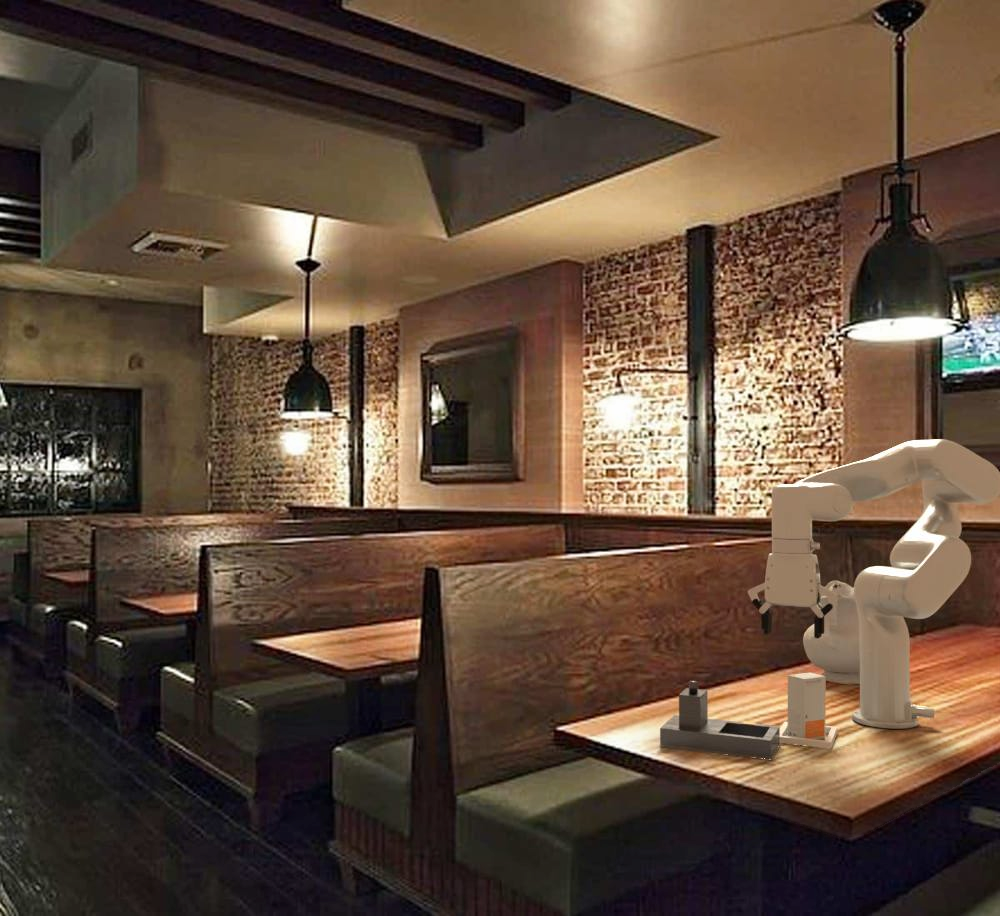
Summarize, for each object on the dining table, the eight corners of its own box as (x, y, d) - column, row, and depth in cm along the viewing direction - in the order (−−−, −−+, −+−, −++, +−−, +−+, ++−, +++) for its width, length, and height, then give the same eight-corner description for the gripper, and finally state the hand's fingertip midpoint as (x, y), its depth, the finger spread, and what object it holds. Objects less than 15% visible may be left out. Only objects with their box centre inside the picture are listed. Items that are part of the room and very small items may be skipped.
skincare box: (803, 742, 181) (803, 679, 181) (787, 737, 185) (786, 674, 185) (826, 738, 184) (826, 675, 184) (810, 733, 188) (809, 671, 188)
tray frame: (837, 732, 188) (837, 726, 188) (831, 749, 177) (831, 742, 177) (784, 727, 192) (784, 721, 192) (775, 742, 181) (775, 736, 181)
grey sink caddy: (779, 745, 179) (779, 683, 179) (770, 760, 170) (770, 695, 170) (674, 733, 188) (674, 674, 188) (660, 746, 178) (659, 684, 178)
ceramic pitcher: (885, 697, 222) (894, 590, 222) (797, 684, 229) (805, 580, 228) (882, 679, 242) (890, 580, 242) (802, 667, 249) (809, 572, 249)
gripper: (841, 547, 186) (842, 636, 186) (753, 544, 195) (753, 629, 195) (833, 550, 180) (834, 642, 179) (742, 547, 189) (743, 634, 188)
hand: (792, 635), depth 187 cm, fingers open, 9 cm apart
